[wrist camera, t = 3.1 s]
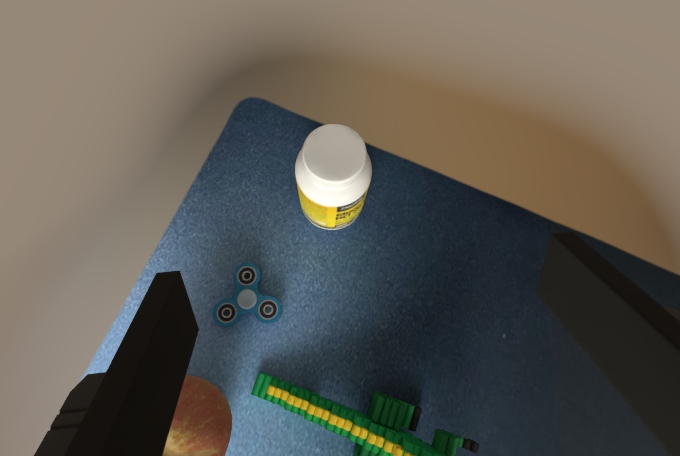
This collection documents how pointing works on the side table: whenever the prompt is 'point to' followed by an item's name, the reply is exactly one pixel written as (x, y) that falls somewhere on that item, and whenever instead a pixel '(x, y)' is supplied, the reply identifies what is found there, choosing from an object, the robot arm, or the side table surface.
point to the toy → (247, 299)
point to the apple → (199, 421)
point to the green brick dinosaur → (363, 421)
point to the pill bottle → (333, 176)
